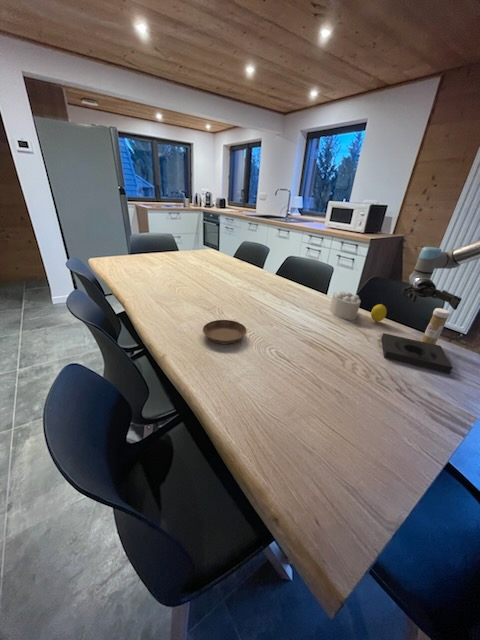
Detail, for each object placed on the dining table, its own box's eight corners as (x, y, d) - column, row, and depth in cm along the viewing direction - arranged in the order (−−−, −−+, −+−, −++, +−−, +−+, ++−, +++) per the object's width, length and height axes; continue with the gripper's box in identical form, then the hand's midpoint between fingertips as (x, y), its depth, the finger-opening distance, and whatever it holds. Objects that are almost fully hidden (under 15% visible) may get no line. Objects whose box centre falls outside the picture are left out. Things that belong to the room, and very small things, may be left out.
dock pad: (437, 351, 91) (440, 345, 90) (449, 374, 79) (452, 367, 78) (381, 338, 97) (383, 332, 96) (384, 358, 85) (386, 351, 84)
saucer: (199, 345, 83) (199, 338, 82) (206, 324, 97) (206, 318, 96) (245, 349, 84) (246, 341, 82) (246, 327, 97) (246, 321, 96)
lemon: (383, 321, 112) (389, 303, 108) (382, 325, 107) (388, 307, 104) (369, 317, 114) (375, 300, 111) (367, 322, 110) (373, 304, 106)
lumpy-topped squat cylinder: (349, 308, 123) (354, 290, 119) (361, 320, 111) (367, 301, 107) (327, 306, 122) (331, 289, 118) (337, 318, 110) (342, 299, 107)
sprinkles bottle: (417, 341, 97) (431, 308, 92) (426, 340, 99) (441, 307, 93) (428, 347, 94) (444, 313, 88) (438, 346, 95) (454, 312, 89)
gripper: (453, 300, 114) (470, 319, 97) (389, 289, 122) (395, 304, 104) (460, 284, 111) (480, 300, 93) (395, 273, 119) (401, 286, 101)
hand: (435, 302), depth 99 cm, fingers open, 13 cm apart
